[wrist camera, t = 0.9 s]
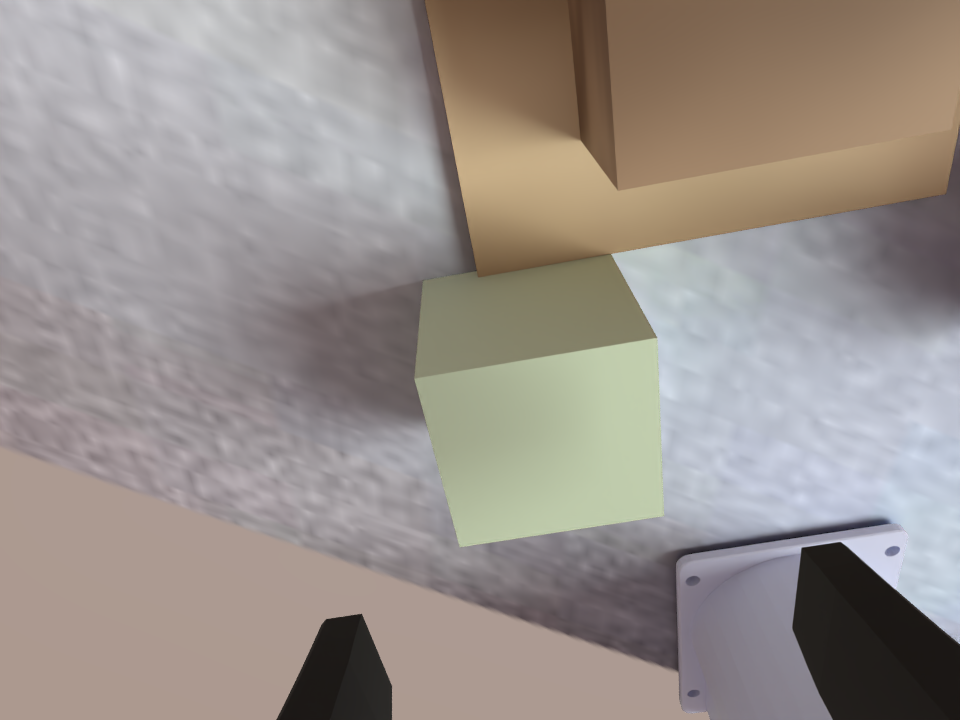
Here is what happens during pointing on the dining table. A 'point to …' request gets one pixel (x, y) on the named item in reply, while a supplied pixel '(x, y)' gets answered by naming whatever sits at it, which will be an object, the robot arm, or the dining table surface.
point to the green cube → (540, 399)
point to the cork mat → (580, 180)
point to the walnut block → (756, 80)
